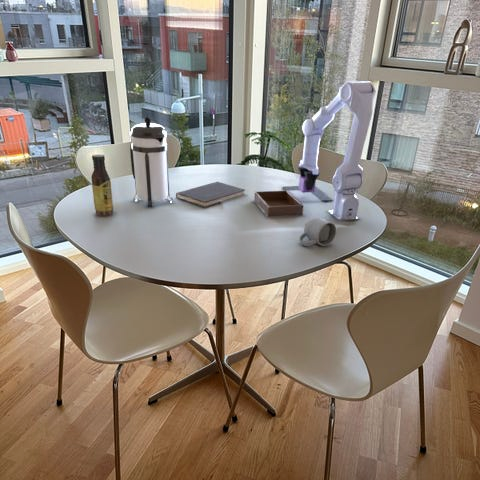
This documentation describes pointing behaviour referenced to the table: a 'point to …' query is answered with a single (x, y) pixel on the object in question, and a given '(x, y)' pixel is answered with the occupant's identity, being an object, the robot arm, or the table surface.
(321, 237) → the ceramic mug
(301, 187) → the block
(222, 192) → the hardcover book
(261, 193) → the brown wooden tray
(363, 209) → the table surface
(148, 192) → the coffee press
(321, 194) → the mat
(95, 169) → the sauce bottle
